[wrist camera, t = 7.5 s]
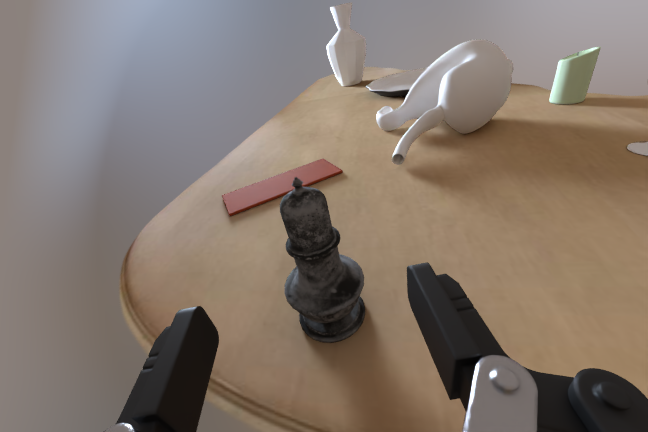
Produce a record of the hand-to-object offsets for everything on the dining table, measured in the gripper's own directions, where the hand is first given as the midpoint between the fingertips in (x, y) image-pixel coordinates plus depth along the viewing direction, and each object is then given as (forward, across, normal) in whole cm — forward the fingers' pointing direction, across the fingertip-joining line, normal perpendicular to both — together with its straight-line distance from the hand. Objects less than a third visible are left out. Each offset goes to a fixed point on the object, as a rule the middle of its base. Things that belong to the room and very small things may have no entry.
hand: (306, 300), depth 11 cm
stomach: (+40, -24, +10) cm, 48 cm away
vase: (+111, -19, +10) cm, 113 cm away
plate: (+82, -34, +10) cm, 89 cm away
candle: (+43, -48, +10) cm, 65 cm away
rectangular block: (+32, +5, +10) cm, 34 cm away
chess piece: (+7, 0, +10) cm, 12 cm away
